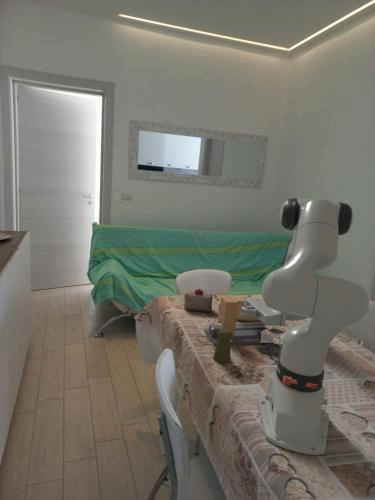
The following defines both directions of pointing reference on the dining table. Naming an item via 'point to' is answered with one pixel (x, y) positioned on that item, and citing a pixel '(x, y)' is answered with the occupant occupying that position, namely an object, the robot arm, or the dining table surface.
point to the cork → (223, 346)
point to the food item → (198, 301)
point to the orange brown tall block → (228, 313)
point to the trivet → (244, 315)
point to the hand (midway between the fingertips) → (243, 310)
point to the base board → (239, 337)
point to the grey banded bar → (237, 328)
